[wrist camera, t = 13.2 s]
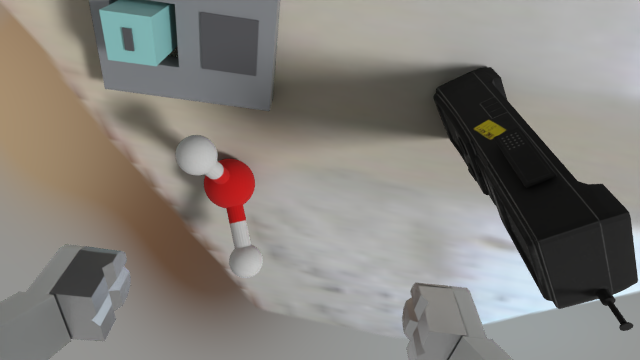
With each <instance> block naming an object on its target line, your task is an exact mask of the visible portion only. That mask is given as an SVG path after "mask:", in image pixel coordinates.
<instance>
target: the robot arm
mask: <svg viewBox="0 0 640 360" xmlns="http://www.w3.org/2000/svg"><path fill="white" fill-rule="evenodd" d="M126 261H127V258H126V255H125V252H123V251H117V250H108V249H101V248H94V247H87V246H77V245H69V244H65V245H64V246H62V247H61V248H59V250H58V251H57V252H56V254H55V255H54V256H53V257H52V259H51V260H50V261H49V262H48V264H47V265H46V266H45V268H44V269H43V270H42V272H41V273H40V274H39V276H38V277H37V278H36V279H35V281H34V282H33V283H32V284H31V286H30V287H29V288H28V290H27V291H26V292H18V293H16V294H14V295H12V296H11V297H9V298H7V299H5V300H3V301H1V302H0V360H48V359H50V358H51V357H52V356H53V355H54V354H56V353H57V352H58V351H59V350H61V349H62V348H63V347H64V346H66V345H67V344H68V343H69V342H71V339H80V340H95V341H105V339H106V337H107V336H108V333H109V331H110V330H111V328H112V326H113V324H114V322H115V320H116V318H115V314H114V311H115V310H117V309H118V308H120V307H121V306H122V305H123V304H124V302H125V300H126V298H127V296H128V292H129V288H130V273H129V271H128V270H127V269H126V268H125V267H124V265H125V263H126ZM411 296H412V298H410V299H409V300H407V301H406V303H405V306H404V309H403V316H402V321H403V330H404V334H405V335H406V336H407V337H408V339H409V340H410V341H409V343H408V345H407V354H408V358H409V360H513V359H512V358H511V357H510V356H509V355H508V354H507V353H506V352H505V351H504V350H503V349H502V348H501V347H500V346H499V345H498V344H497V343H496V342H494V340H493V339H487V337H486V334H485V331H484V328H483V326H482V323H481V320H480V318H479V315H478V312H477V309H476V307H475V304H474V301H473V299H472V296H471V293H470V291H469V290H468V289H467V288H462V287H453V286H445V285H435V284H424V283H415V284H414V285H413V286H412V288H411Z"/></svg>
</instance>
